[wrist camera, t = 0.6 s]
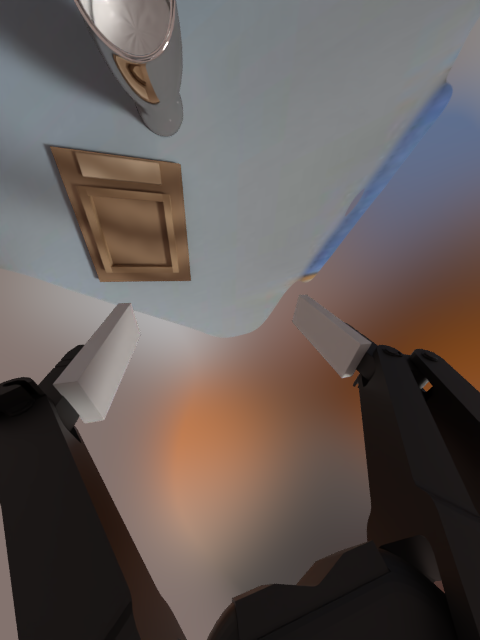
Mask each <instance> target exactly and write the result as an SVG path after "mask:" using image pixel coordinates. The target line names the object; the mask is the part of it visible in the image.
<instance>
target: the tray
mask: <svg viewBox="0 0 480 640" xmlns="http://www.w3.org/2000/svg"><path fill="white" fill-rule="evenodd" d="M50 148H51V151H52V153H53V156H54V159H55V161H56V164H57V167H58V169H59V172H60V175H61V178H62V180H63V183H64V186H65V188H66V191H67V194H68V196H69V199H70V202H71V204H72V207H73V210H74V212H75V215H76V218H77V221H78V223H79V226H80V229H81V231H82V234H83V237H84V239H85V242H86V245H87V247H88V250H89V253H90V256H91V258H92V261H93V264H94V266H95V269H96V272H97V274H98V277H99V280H100V282H124V281H191V276H190V265H189V254H188V242H187V231H186V220H185V209H184V198H183V187H182V176H181V165H180V164H177V163H169V162H162V161H155V160H147V159H140V158H133V157H125V156H118V155H110V154H103V153H96V152H88V151H81V150H73V149H66V148H59V147H51V146H50Z"/></svg>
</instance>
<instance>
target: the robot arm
mask: <svg viewBox="0 0 480 640" xmlns="http://www.w3.org/2000/svg"><path fill="white" fill-rule="evenodd" d="M292 322H293V323H294V324H295V326H296V327H297V328H298V329H299V330H300V331H301V332H302V334H303V335H304V336H305V337H306V338H307V339H308V340H309V341H310V342H311V344H312V345H313V346H314V347H315V348H316V349H317V350H318V352H319V353H320V354H321V355H322V356H323V357H324V358H325V359H326V361H327V362H328V363H329V364H330V365H331V366H332V367H333V368H334V369H335V371H336V372H337V373H338V374H339V375H340V376H341V377H342V378H345V377H350V376H352V375H353V374H354V372H355V370H357V371H359V373H360V374H359V376H358V377H357V379H356V380H355V382H354V384H353V386H355V385H356V384H359V386H358V388H359V393H360V403H361V412H362V421H363V431H364V440H365V450H366V459H367V469H368V478H369V488H370V497H371V513H370V516H369V519H368V523H367V542H365V543H362V544H359V545H356V546H353V547H350V548H347V549H344V550H341V551H338V552H336V553H334V554H331V555H329V556H327V557H325V558H322V559H320V560H318V561H316V562H315V563H314V564H313V565H312V567H311V568H310V569H309V570H308V571H307V572H306V574H305V575H304V576H303V577H302V578H301V579H300V581H299V582H298V583H297V584H296V585H284V584H269V585H261V586H259V587H256V588H254V589H252V590H250V591H248V592H245V593H243V594H241V595H238V596H236V597H234V598H232V603H231V604H230V605H229V606H228V607H227V608H226V610H225V611H224V612H223V613H222V615H221V616H220V618H219V619H218V620H217V622H216V624H215V625H214V627H213V629H212V631H211V632H210V634H209V636H208V639H207V640H480V392H479V391H478V390H476V389H475V388H474V387H473V386H472V385H471V384H470V383H469V382H468V381H467V380H465V379H464V378H463V377H462V376H461V375H460V374H459V373H458V372H457V371H456V370H454V369H453V368H452V367H451V366H450V365H449V364H448V363H447V362H446V361H445V360H444V359H442V358H441V357H440V356H438V355H436V354H435V353H433V352H430V351H428V350H423V349H416V350H414V352H413V353H412V354H411V355H404V354H402V353H401V352H400V351H398V350H396V349H395V348H392V347H390V346H386V345H379V346H377V345H376V344H375V343H374V342H372V341H371V340H369V339H368V338H367V337H365V336H364V335H363V334H361V333H359V332H358V331H357V330H355V329H354V328H353V327H351V326H350V325H349V324H347V323H345V322H343V321H342V320H340V319H339V318H337V317H336V316H335V315H333V314H332V313H331V312H329V311H328V310H327V309H325V308H324V307H323V306H321V305H320V304H318V303H317V302H316V301H315V300H313V299H312V298H310V297H309V296H308V295H299V297H298V301H297V305H296V309H295V313H294V317H293V320H292ZM140 336H141V334H140V330H139V327H138V324H137V321H136V318H135V315H134V311H133V308H132V305H131V303H121V304H118V305H117V306H116V307H115V308H114V310H113V311H112V312H111V314H110V315H109V316H108V317H107V318H106V320H105V321H104V322H103V323H102V324H101V326H100V327H99V328H98V330H97V331H96V332H95V333H94V334H93V335H92V337H91V338H90V339H89V340H88V342H87V343H86V344H85V345H78V346H76V347H75V348H73V349H72V350H70V351H69V352H68V353H67V354H66V355H65V356H64V357H63V358H62V359H61V361H60V362H59V363H58V364H57V365H56V366H55V368H53V369H52V371H51V372H50V373H49V374H48V375H47V376H46V377H45V378H44V380H43V381H42V382H41V383H40V384H39V385H37V384H36V383H35V382H34V381H33V380H32V379H31V378H27V377H21V378H16V379H12V380H9V381H6V382H3V383H1V384H0V503H1V508H2V516H3V524H4V531H5V539H6V547H7V554H8V562H9V569H10V577H11V585H12V592H13V600H14V607H15V616H16V623H17V631H18V639H19V640H187V639H186V637H185V635H184V634H183V631H182V629H181V628H180V626H179V624H178V622H177V620H176V618H175V616H174V614H173V612H172V611H171V609H170V607H169V606H168V604H167V603H166V601H165V600H164V599H163V597H162V596H161V595H160V593H159V591H158V590H157V588H156V586H155V584H154V582H153V580H152V578H151V576H150V574H149V572H148V570H147V568H146V566H145V564H144V562H143V560H142V558H141V556H140V554H139V552H138V550H137V548H136V546H135V544H134V542H133V540H132V538H131V536H130V534H129V532H128V530H127V528H126V526H125V524H124V522H123V520H122V518H121V516H120V514H119V512H118V510H117V508H116V506H115V504H114V502H113V500H112V498H111V496H110V494H109V492H108V490H107V488H106V486H105V484H104V482H103V480H102V478H101V476H100V474H99V472H98V470H97V468H96V466H95V464H94V462H93V460H92V458H91V456H90V454H89V452H88V450H87V448H86V446H85V444H84V442H83V440H82V438H81V436H80V434H79V432H78V430H77V428H76V427H75V426H74V425H75V423H76V421H77V420H78V418H79V417H80V418H81V419H82V420H83V422H84V423H90V422H96V421H101V420H104V419H105V417H106V415H107V412H108V410H109V408H110V405H111V403H112V400H113V398H114V396H115V394H116V391H117V389H118V387H119V384H120V382H121V380H122V377H123V375H124V373H125V370H126V368H127V366H128V363H129V361H130V359H131V356H132V354H133V352H134V350H135V347H136V344H137V343H138V340H139V338H140ZM428 382H430V383H431V384H432V386H433V387H432V388H430V389H429V390H428V391H427V392H426V391H425V390H424V389H423V387H424V386H425V385H426V384H427V383H428ZM440 580H442V584H443V587H444V591H445V593H444V592H442V591H441V590H440V589H439V588H438V587H437V586H436V585H435V584H434V582H435V581H440Z"/></svg>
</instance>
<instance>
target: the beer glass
mask: <svg viewBox="0 0 480 640" xmlns="http://www.w3.org/2000/svg"><path fill="white" fill-rule="evenodd" d="M74 2H75V4H76V6H77V7H78V9H79V11H80V13H81V15H82V17H83V20H84V22H85V24H86V26H87V28H88V30H89V32H90V34H91V36H92V38H93V40H94V42H95V44H96V46H97V48H98V50H99V52H100V54H101V55H102V57H103V59H104V61H105V62H106V64H107V66H108V67H109V69H110V70H111V72H112V74H113V75H114V77H115V78H116V80H117V81H118V82H119V84H120V85H121V86H122V87H123V89H124V90H125V91H126V92H127V94H128V95H129V96H130V97H131V98H132V99H133V100H134V101H135V104H136V108H137V110H138V113H139V115H140V117H141V118H142V120H143V122H144V123H145V124H146V125H147V127H148V128H149V129H150V130H152V131H153V132H154V133H156V134H158V135H160V136H164V137H169V136H172V135H174V134H175V133H177V132H178V130H179V129H180V127H181V124H182V121H183V104H182V99H181V96H180V93H179V92H180V87H181V81H182V71H183V55H182V39H181V30H180V22H179V16H178V9H177V3H176V0H74Z"/></svg>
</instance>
